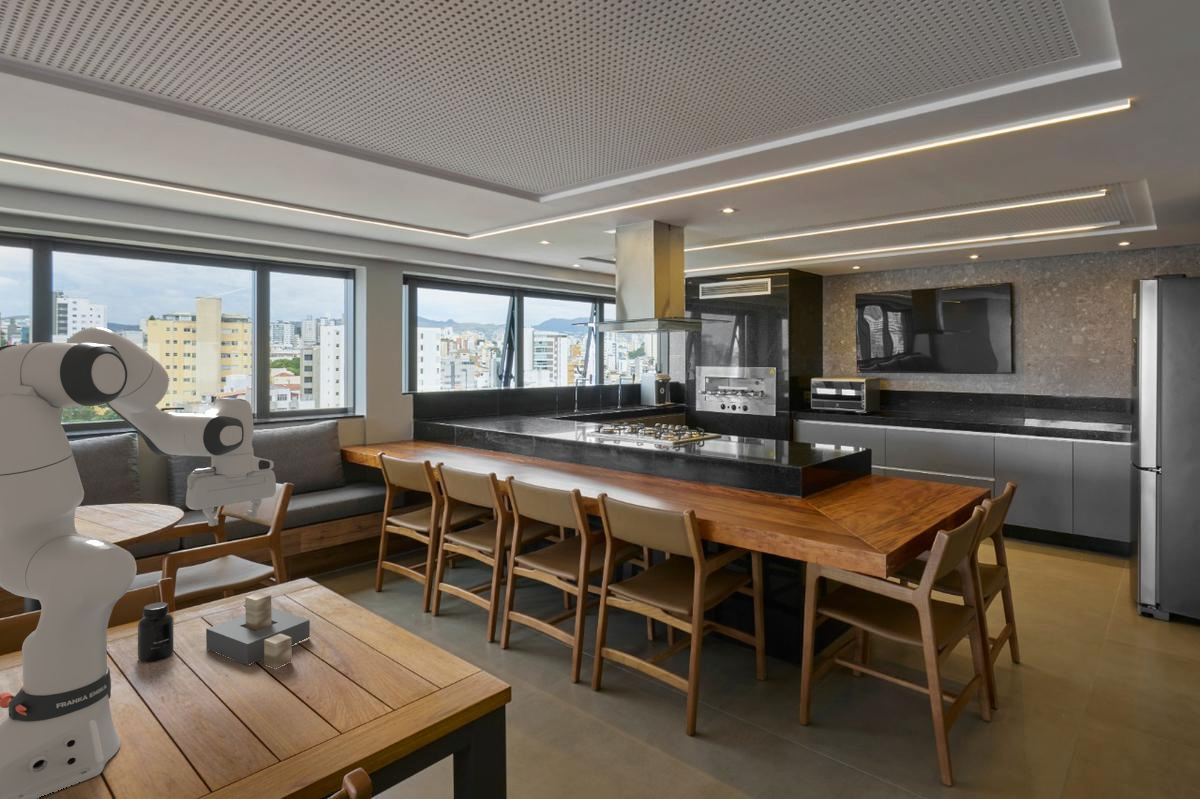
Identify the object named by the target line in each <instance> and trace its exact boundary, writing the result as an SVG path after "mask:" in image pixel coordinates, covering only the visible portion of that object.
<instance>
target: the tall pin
mask: <svg viewBox="0 0 1200 799" xmlns="http://www.w3.org/2000/svg"><path fill="white" fill-rule="evenodd" d="M244 600H245V615H246V628H247V629H250V630H253V631H257V630H260V629H262V628H265V627H268V626H270V625H272V618H271V608H272V594H269V593H266V592H263V591H262V592H261V591H260V592H257V593H254V594H250V595H247V596H245V598H244Z"/></svg>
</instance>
